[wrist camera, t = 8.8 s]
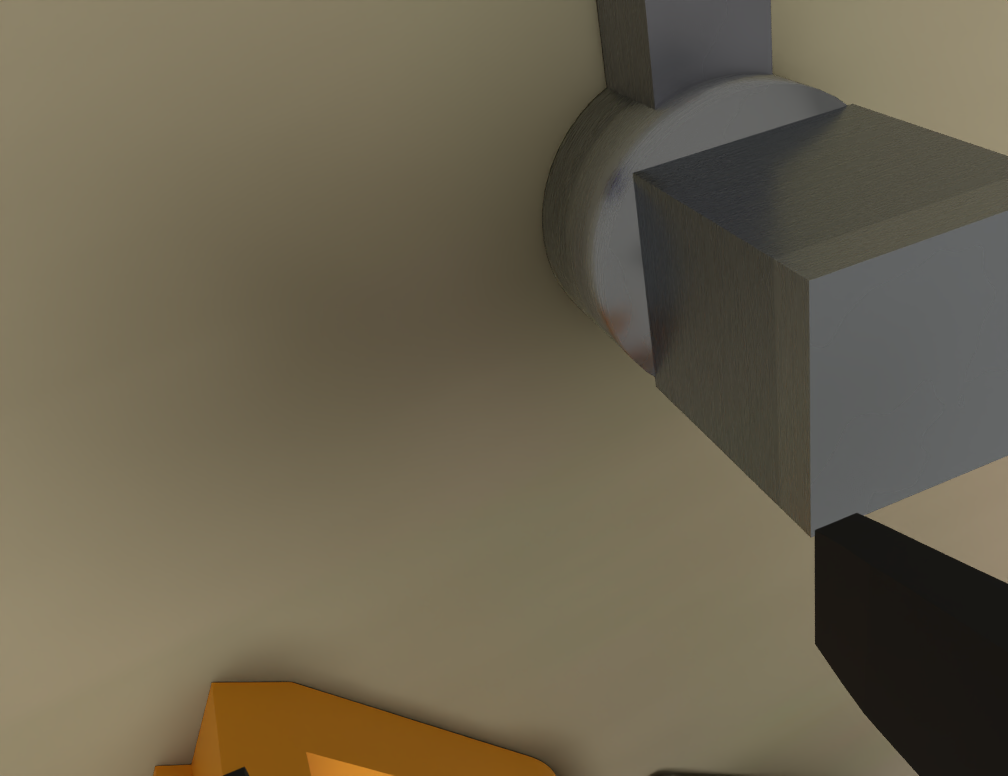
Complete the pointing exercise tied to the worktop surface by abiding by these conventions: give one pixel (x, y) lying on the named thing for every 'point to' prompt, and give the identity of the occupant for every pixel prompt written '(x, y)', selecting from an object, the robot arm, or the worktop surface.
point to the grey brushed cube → (834, 306)
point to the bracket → (331, 739)
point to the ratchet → (656, 139)
